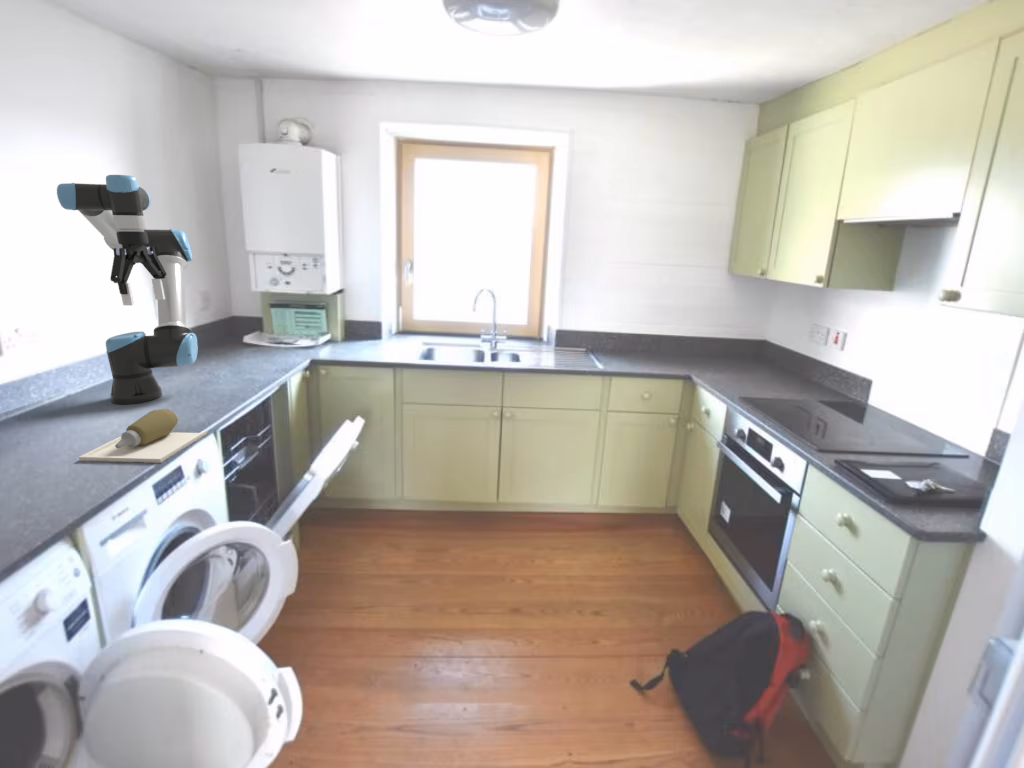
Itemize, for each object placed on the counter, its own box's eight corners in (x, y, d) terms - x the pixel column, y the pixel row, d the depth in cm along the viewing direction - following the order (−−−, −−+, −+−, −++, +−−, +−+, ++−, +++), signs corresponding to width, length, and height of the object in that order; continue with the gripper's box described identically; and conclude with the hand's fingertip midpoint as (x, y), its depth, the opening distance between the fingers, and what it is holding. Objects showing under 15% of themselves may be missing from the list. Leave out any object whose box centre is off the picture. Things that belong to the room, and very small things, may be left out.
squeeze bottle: (160, 400, 153) (107, 427, 136) (185, 415, 154) (134, 444, 137) (153, 419, 156) (100, 448, 140) (177, 434, 157) (126, 465, 140)
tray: (135, 432, 156) (135, 429, 155) (207, 434, 155) (206, 430, 154) (79, 461, 136) (78, 457, 136) (161, 463, 136) (160, 458, 135)
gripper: (148, 230, 167) (161, 297, 173) (84, 230, 143) (101, 307, 149) (171, 230, 167) (183, 297, 173) (110, 230, 143) (126, 308, 149)
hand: (145, 302), depth 161 cm, fingers open, 13 cm apart
